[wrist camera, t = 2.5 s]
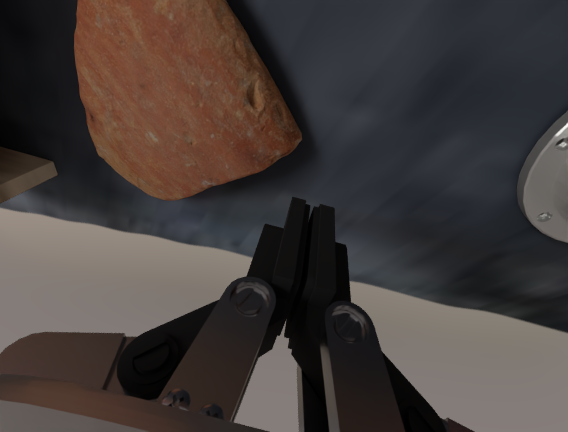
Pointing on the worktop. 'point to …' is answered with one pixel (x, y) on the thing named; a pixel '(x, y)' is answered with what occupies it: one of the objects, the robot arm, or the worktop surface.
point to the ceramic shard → (177, 94)
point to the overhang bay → (22, 172)
